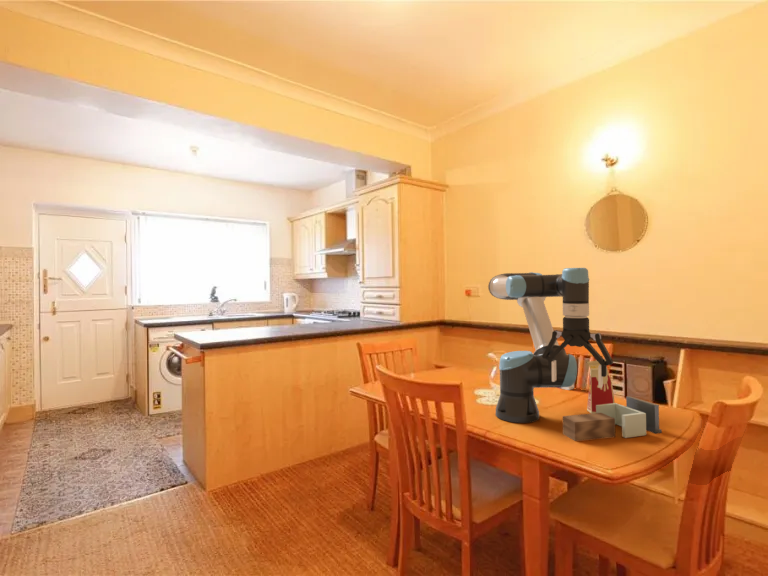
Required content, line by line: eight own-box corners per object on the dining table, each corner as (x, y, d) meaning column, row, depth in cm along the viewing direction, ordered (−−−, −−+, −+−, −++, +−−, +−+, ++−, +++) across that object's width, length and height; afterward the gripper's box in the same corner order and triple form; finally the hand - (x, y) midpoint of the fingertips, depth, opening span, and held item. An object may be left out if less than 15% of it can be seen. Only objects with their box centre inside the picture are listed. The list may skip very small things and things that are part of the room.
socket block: (625, 437, 125) (624, 415, 125) (596, 425, 137) (595, 405, 137) (646, 434, 127) (645, 413, 127) (615, 422, 139) (615, 402, 138)
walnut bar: (575, 441, 124) (574, 422, 124) (563, 434, 130) (562, 416, 130) (615, 437, 127) (614, 418, 127) (601, 430, 133) (601, 412, 132)
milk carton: (613, 408, 154) (612, 356, 154) (615, 416, 146) (614, 360, 146) (586, 406, 158) (585, 355, 158) (587, 413, 150) (586, 359, 149)
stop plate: (655, 433, 128) (654, 405, 128) (626, 422, 139) (626, 396, 139) (661, 432, 129) (661, 404, 129) (632, 421, 140) (632, 395, 140)
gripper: (531, 316, 132) (532, 380, 133) (619, 319, 117) (620, 392, 117) (539, 314, 138) (539, 376, 139) (623, 317, 123) (623, 386, 123)
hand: (576, 383), depth 128 cm, fingers open, 13 cm apart
